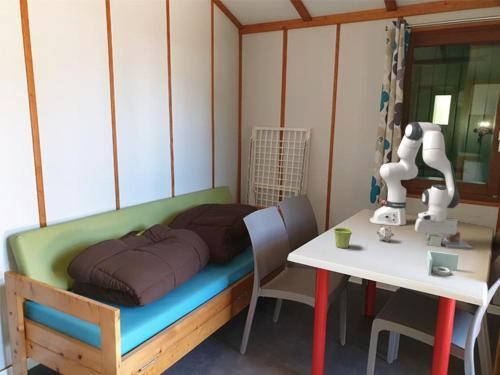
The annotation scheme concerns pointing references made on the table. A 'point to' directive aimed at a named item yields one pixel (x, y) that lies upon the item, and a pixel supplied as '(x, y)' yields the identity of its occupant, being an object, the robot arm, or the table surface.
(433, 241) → the green cube
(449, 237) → the walnut cube
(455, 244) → the board
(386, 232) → the white spiky ball
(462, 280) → the table surface
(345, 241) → the plant pot
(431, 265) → the l-shaped corner panel
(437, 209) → the robot arm
